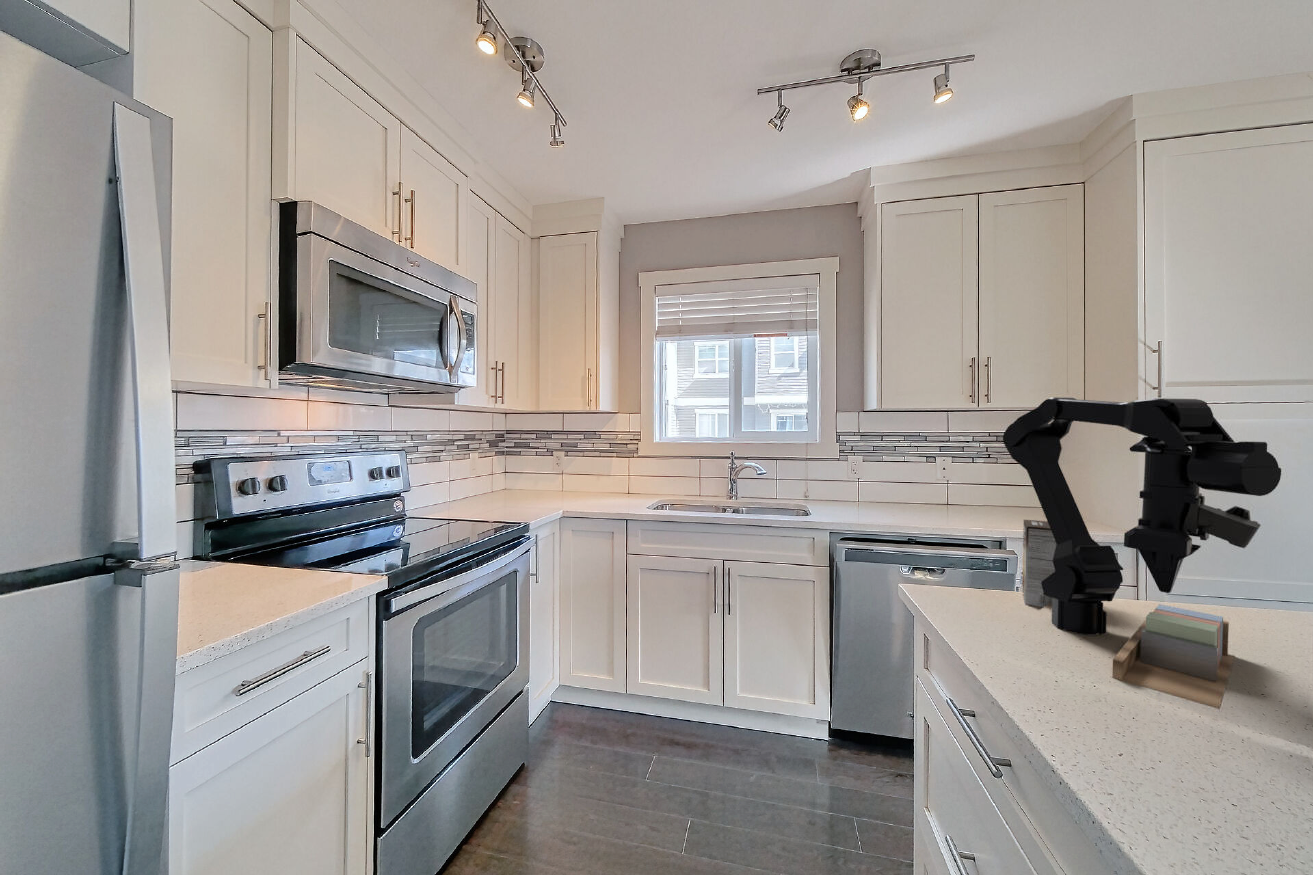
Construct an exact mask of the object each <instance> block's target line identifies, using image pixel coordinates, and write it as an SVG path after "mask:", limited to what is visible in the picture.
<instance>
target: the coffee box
mask: <svg viewBox="0 0 1313 875" xmlns="http://www.w3.org/2000/svg"><path fill="white" fill-rule="evenodd" d="M1022 532H1023V534H1022V535H1023V536H1022V537H1023V538H1022V539H1023V540H1022V579H1021V580H1022V582H1021V583H1022V584H1021V585H1022V588H1021V590H1022V591H1021V592H1022V596H1023V601H1024V604H1025V605H1027V606H1034V607H1038V608H1039V607H1040V608H1045V607H1046V606H1047V605H1048V606H1049V604H1051V605H1052V597H1050V596H1047V595H1045V594H1044V592H1043V589H1042V585H1041V582H1042V581H1043V580H1044V579H1046V578H1047V577H1048V576H1050V575H1051V574H1052V573H1054V572H1055V568H1054V564H1053V556H1054V553H1055V549H1056V541H1055V539H1054V536H1053V534H1052V531H1051V529H1050V526H1049V524H1048V521H1046V520H1038V519H1037V520H1036V519H1035V520H1034V519H1033V520H1032V519H1023V531H1022ZM1023 593H1024V594H1023Z"/></svg>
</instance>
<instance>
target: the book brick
mask: <svg viewBox="0 0 1313 875" xmlns="http://www.w3.org/2000/svg"><path fill="white" fill-rule="evenodd" d="M1152 612H1153V613H1158V614H1163V615H1168V616H1173V617H1177V618H1182V619H1187V620H1192V621H1197V622H1201V623H1206V624H1211V625H1216V626H1218V633H1217V646H1218V666H1219V663H1220V631H1221V623H1220V622H1215V621H1210V620H1205V619H1200V618H1195V617H1190V616H1186V615H1181V614H1176V613H1171V612H1166V611H1161V610H1156V608H1155V609H1154V610H1153V611H1152Z"/></svg>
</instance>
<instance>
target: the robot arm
mask: <svg viewBox="0 0 1313 875" xmlns="http://www.w3.org/2000/svg"><path fill="white" fill-rule="evenodd" d="M1073 422H1081V423H1089V424H1090V423H1091V424H1100V425H1108V426H1117V427H1121V428H1124V429H1126V430H1128V431H1129V432H1131V433H1134V434H1138V435H1142V436H1144V437H1142V439H1141V440H1139V441H1138V442H1136V443H1134V444H1133V445H1131V446H1130V447H1129V451H1130V452H1133V453H1144V472H1143V487H1142V488H1143V489H1142V490H1139V499H1142V506H1141V507H1142V508H1141V509H1142V510H1141V517H1140V518H1138V520H1137V522H1138V523H1137V526H1134V527H1133V528H1131V529H1129V530H1127V531H1126V532H1124V538H1123V547H1126V548H1130V549H1136V550H1137V551H1138V552H1139V554H1140V555H1141V558H1142V559H1143V561H1144V563H1145V565H1146V567H1147V568H1148V571H1149V572H1150V574H1151V576H1152V579H1153V581H1154V582H1155V583H1154V584H1156V586H1157V589H1158V590H1159V591H1160V593H1165V594H1170V593H1171V592H1172V591H1173V588H1174V585H1175V582H1176V580H1177V577H1178V576H1179V575H1178V574H1179V572H1180V570H1181V567H1182V564H1183V561H1184V559H1185V558H1187V557H1189V556H1191V555H1193V554H1194V553H1195V552H1197V551H1199V549H1201V548H1202V545H1199V544H1195V543H1193V538H1192V537H1197V538H1199V540H1201V541H1207V540H1209V539H1210V535H1211V536H1213V537H1216V538H1219V539H1221V540H1224V541H1226V542H1227V543H1229V545H1233V546H1235V547H1238V548H1242V549H1245V548H1246V547H1247V546H1248V545H1249V544H1250V543H1251V541H1252V539H1253V538H1254V536H1255V534H1256V533H1257V532H1258V530H1259V529H1260V527H1261V525H1262V524H1260V523H1259V522H1258V521H1255V520H1252V519H1251V513H1250V512H1251V511H1250V510H1248V509H1246V508H1243V507H1240V506H1238V505H1234V506H1232V507H1230V508H1228V509H1227V510H1222V509H1221V508H1219V507H1218V508H1217V507H1216V508H1215V507H1212V506H1210V505H1206V504H1205V502H1206V501H1205V500H1206V497H1205V496H1204V495H1203V494H1202V493H1200V489H1202V490H1207V491H1214V492H1215V491H1216V492H1222V493H1223V492H1224V493H1232V494H1238V495H1239V494H1240V495H1247V496H1249V495H1250V496H1254V497H1255V496H1256V497H1263V496H1267V495H1269V494H1271V493H1272V492H1273V491H1274V490H1276V488H1277V486H1278V485H1279V483H1280V480H1281V477H1282V468H1281V467H1279V463H1278V461H1277V459H1276V457H1275V456H1274V455H1273V454H1272V453H1270V452H1269V451H1268V443H1267V442H1266V441H1237V442H1236V441H1235V440H1234V439H1233V438H1232V437H1231V436H1230V434H1229V433H1228V432H1227V431H1226V430H1225V428H1224V427H1223V426H1222V425H1221V424H1220V423H1219V421H1218V420H1217V418H1215V417H1214V413H1213V411H1212V408H1211V407H1210V406H1209V404H1208V403H1207V401H1204V400H1202V399H1198V398H1162V397H1161V398H1159V397H1158V398H1149V399H1137V400H1133V401H1128V402H1124V401H1123V402H1122V401H1106V400H1104V401H1103V400H1094V399H1093V400H1090V399H1089V400H1088V399H1077V398H1074V397H1054V396H1053V397H1049V398H1047V399H1045V400H1044V401H1042V402H1041V403H1040V405H1039V406H1037V407H1036V408H1033V409H1032V410H1030V411H1028V412H1026V413H1025V414H1022V415H1021V416H1019V417H1017V419H1016V420H1015V421H1013V423H1010V424H1009V425H1008V426H1007V427H1006V430H1005V431H1004V432H1003V435H1002V442H1003V444H1004V447H1005V449H1006V450H1007V452H1008V454H1009V455H1010V457H1011V458H1012V459H1013V460H1014V461H1015V462H1016V463H1017V464H1019V465H1020V466H1021V467H1022V468H1023V469H1025V470H1026V472H1027V474H1028V477H1029V479H1030V482H1031V484H1032V486H1033V489H1034V491H1035V494H1036V496H1037V499H1038V502H1039V504H1040V506H1041V508H1042V511H1043V514H1044V516H1045V519H1046V520H1047V521H1048V524H1049V526H1050V529H1051V531H1052V534H1053V536H1054V539H1055V541H1056V549H1055V553H1054V556H1053V564H1054V568H1055V572H1054V573H1052V574H1051V575H1050V576H1048V577H1047V578H1046V579H1044V580H1043V581H1042V582H1041V585H1042V589H1043V592H1044V594H1045V595H1047V596H1050V597H1052V604H1051V624H1053V626H1054V627H1055V628H1056V629H1058V630H1062V631H1065V632H1069V633H1074V634H1079V635H1089V636H1090V635H1091V636H1092V635H1093V636H1095V635H1107V626H1108V625H1107V624H1108V623H1107V621H1108V620H1107V619H1108V618H1107V617H1108V612H1107V611H1106V610H1104V602H1108V603H1109V602H1113V600H1114V597H1115V595H1116V592H1117V591H1118V590H1119V589H1120V587H1121V584H1122V583H1123V582H1124V581H1123V580H1124V579H1123V574H1122V572H1121V571H1124V568H1123V567H1122V565H1121V564H1120V563H1119V560H1118V558H1117V557H1116V552H1115V549H1113V547H1112V546H1111V545H1100V544H1099V543H1098V542H1096V541H1095V540H1094V539H1093V538H1092V537H1091V534H1090V533H1089V530H1088V528H1087V525H1086V522H1085V521H1084V519H1083V516H1082V513H1081V511H1080V510H1079V507H1078V505H1077V502H1076V501H1075V498H1074V496H1073V493H1072V491H1071V488H1070V487H1069V485H1068V482H1067V480H1066V477H1065V475H1064V472H1063V471H1062V469H1061V468H1062V467H1061V465H1060V462H1059V461H1060V457H1061V453H1062V450H1063V447H1062V444H1061V440H1062V439H1063V438H1064V437H1066V435H1068V434H1069V432H1070V430H1071V426H1072V424H1073Z"/></svg>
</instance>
